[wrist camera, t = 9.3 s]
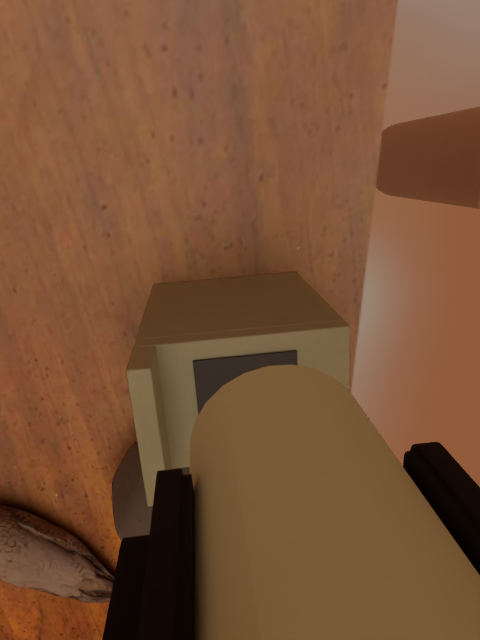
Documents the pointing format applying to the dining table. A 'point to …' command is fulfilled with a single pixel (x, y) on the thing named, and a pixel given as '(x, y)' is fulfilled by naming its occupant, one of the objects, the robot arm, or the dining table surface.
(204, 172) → the dining table surface
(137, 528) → the skull
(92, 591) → the bird model
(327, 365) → the beige box
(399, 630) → the candle
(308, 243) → the dining table surface
